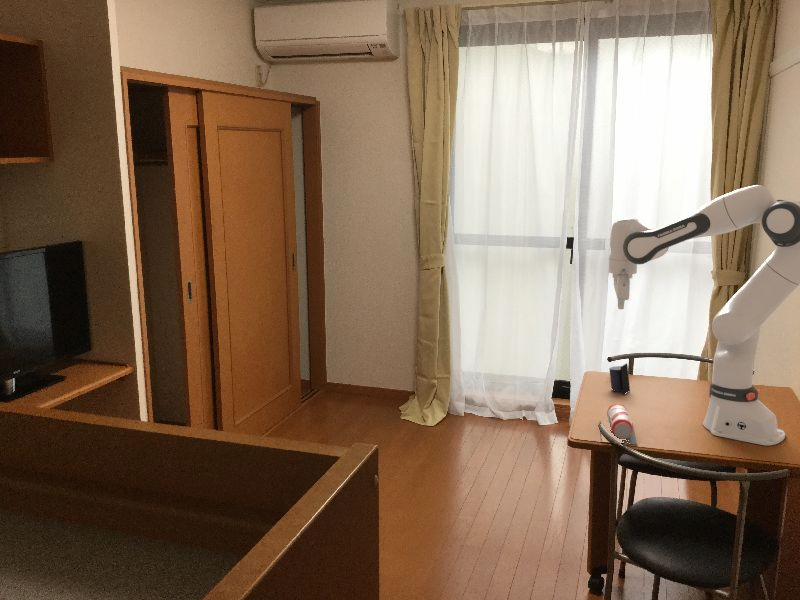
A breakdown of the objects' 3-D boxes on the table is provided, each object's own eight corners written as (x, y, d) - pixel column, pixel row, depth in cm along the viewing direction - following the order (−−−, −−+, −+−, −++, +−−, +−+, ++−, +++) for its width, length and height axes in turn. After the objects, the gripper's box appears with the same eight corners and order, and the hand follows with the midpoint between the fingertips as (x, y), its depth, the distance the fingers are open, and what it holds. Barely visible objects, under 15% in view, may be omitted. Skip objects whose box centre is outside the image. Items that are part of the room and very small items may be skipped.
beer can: (605, 403, 218) (610, 422, 203) (626, 401, 217) (632, 420, 202) (608, 422, 219) (613, 442, 204) (628, 420, 218) (635, 440, 203)
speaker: (635, 391, 247) (633, 363, 246) (624, 395, 244) (622, 366, 243) (618, 388, 253) (617, 360, 252) (607, 391, 251) (605, 363, 249)
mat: (599, 421, 219) (599, 420, 219) (632, 424, 217) (632, 423, 217) (601, 442, 203) (601, 441, 203) (637, 445, 201) (637, 444, 201)
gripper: (635, 272, 217) (632, 315, 220) (630, 263, 236) (628, 303, 239) (614, 271, 218) (612, 314, 221) (611, 263, 238) (609, 302, 241)
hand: (620, 308), depth 230 cm, fingers closed
